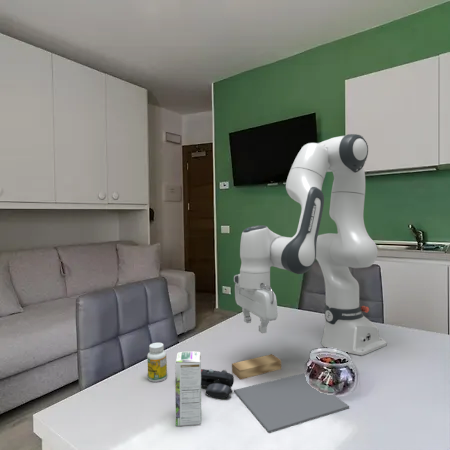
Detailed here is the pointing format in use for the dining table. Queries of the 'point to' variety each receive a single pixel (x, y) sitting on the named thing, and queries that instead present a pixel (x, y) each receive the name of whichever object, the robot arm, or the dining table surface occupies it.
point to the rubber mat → (287, 402)
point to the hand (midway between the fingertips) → (254, 327)
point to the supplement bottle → (157, 363)
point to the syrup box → (188, 388)
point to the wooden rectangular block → (256, 366)
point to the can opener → (217, 383)
